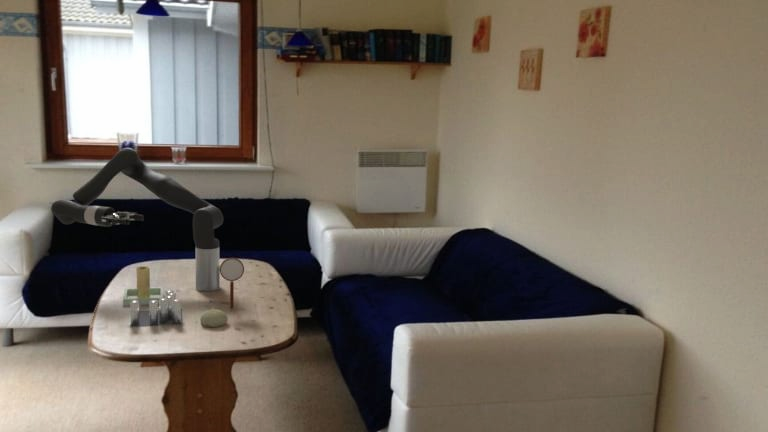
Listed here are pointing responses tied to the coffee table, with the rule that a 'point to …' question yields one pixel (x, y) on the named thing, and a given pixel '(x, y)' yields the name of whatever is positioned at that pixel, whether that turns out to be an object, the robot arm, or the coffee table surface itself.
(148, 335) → the coffee table surface
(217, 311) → the sea urchin shell
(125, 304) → the parts tray
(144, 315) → the mat
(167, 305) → the spacer posts
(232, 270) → the magnifying glass
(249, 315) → the coffee table surface
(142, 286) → the gold hexagonal pillar
